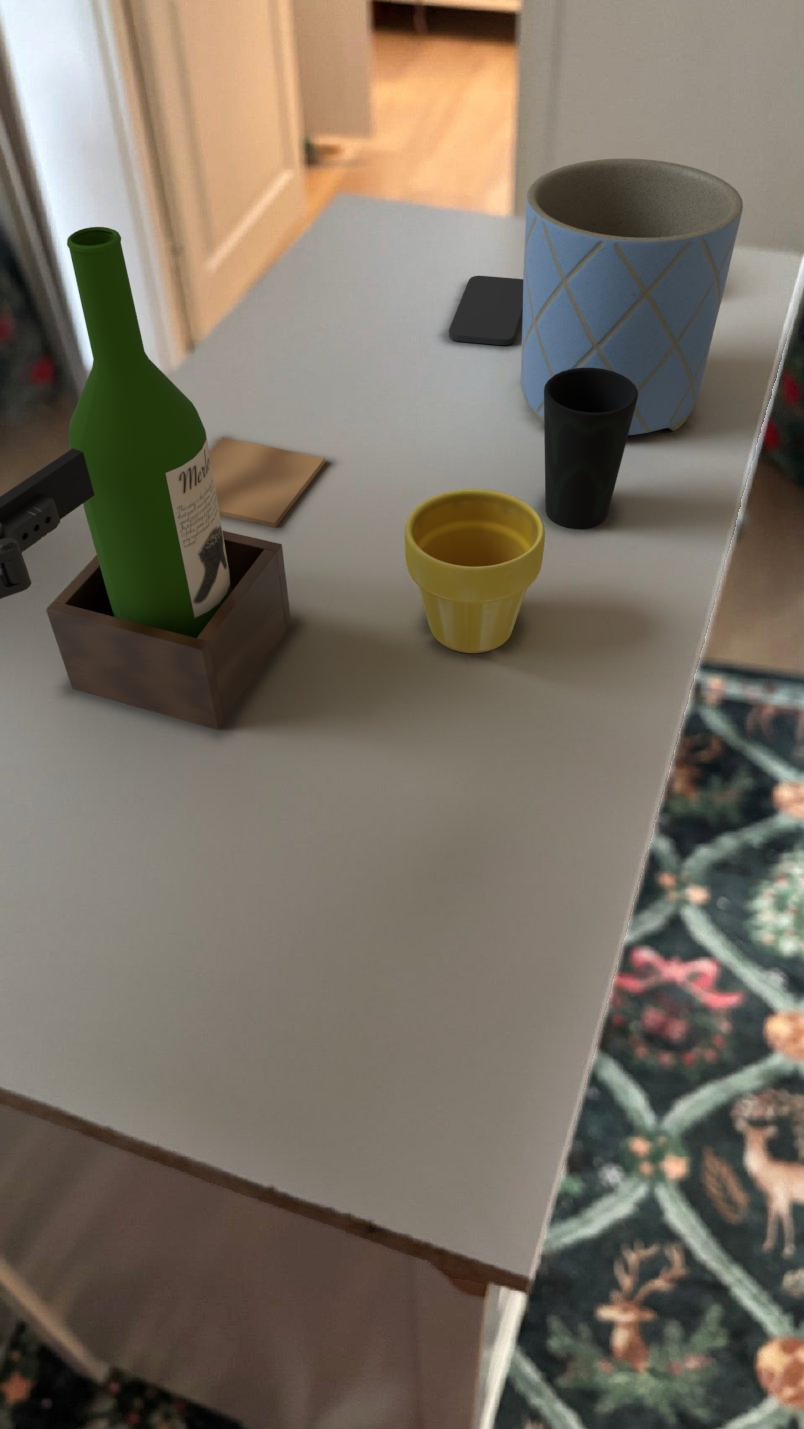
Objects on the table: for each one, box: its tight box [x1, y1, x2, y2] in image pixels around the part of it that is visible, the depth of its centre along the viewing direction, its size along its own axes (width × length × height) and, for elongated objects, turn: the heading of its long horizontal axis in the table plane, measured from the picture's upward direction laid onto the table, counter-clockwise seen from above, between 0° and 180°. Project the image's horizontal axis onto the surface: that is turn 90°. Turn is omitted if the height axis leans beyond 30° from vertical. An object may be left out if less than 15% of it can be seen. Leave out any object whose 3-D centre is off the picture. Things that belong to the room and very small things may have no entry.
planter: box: [520, 158, 744, 436], centre depth 103 cm, size 19×19×20 cm
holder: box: [45, 530, 292, 731], centre depth 82 cm, size 13×13×8 cm
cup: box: [543, 368, 638, 530], centre depth 93 cm, size 8×8×12 cm
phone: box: [448, 275, 523, 346], centre depth 124 cm, size 7×1×15 cm
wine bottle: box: [66, 226, 232, 638], centre depth 73 cm, size 9×9×32 cm
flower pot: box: [404, 488, 546, 654], centre depth 83 cm, size 10×10×10 cm
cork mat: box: [209, 437, 326, 528], centre depth 101 cm, size 11×11×1 cm
